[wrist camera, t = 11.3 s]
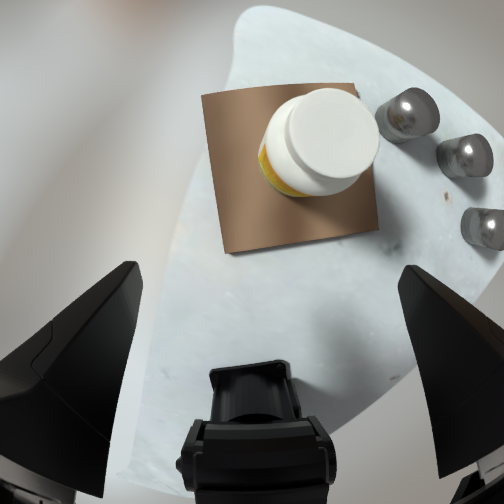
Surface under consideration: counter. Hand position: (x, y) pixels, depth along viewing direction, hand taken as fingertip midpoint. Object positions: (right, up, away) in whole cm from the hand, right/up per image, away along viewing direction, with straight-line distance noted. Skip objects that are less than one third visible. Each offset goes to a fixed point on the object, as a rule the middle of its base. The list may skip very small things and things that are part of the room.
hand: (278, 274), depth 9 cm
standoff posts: (+17, +8, +12) cm, 22 cm away
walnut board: (+2, +8, +12) cm, 14 cm away
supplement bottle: (+2, +7, +11) cm, 14 cm away
